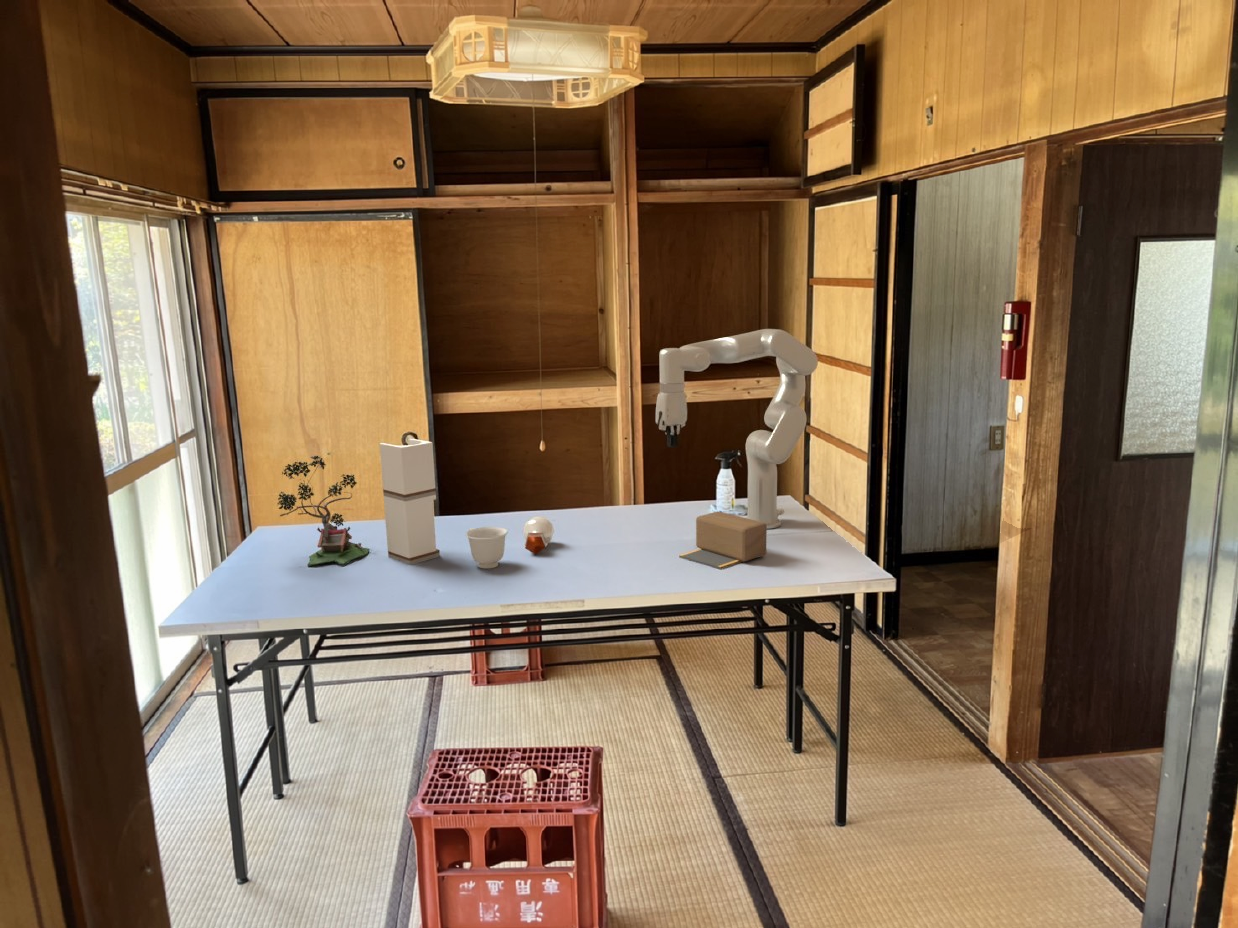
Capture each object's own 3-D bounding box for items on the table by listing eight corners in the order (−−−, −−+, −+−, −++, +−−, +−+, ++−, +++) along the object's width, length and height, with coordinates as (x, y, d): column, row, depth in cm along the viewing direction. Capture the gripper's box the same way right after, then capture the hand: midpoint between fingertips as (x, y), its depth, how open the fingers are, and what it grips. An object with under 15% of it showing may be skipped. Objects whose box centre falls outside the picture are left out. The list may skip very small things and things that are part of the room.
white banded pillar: (439, 556, 261) (432, 442, 254) (409, 564, 254) (401, 447, 247) (418, 549, 269) (410, 438, 262) (388, 557, 261) (379, 443, 254)
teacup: (487, 554, 262) (485, 522, 260) (517, 564, 251) (516, 531, 249) (453, 564, 254) (451, 531, 252) (483, 575, 243) (481, 540, 241)
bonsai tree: (300, 545, 275) (290, 448, 269) (377, 543, 276) (369, 446, 270) (257, 582, 241) (245, 471, 235) (345, 579, 242) (335, 469, 235)
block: (717, 541, 268) (767, 555, 253) (694, 548, 262) (744, 562, 247) (717, 510, 266) (768, 522, 251) (694, 516, 260) (745, 529, 245)
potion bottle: (544, 544, 276) (540, 564, 262) (519, 528, 274) (513, 547, 260) (560, 522, 274) (557, 541, 259) (535, 506, 272) (530, 524, 258)
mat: (719, 544, 267) (719, 542, 267) (760, 555, 255) (760, 553, 255) (679, 557, 255) (679, 555, 255) (720, 569, 244) (720, 567, 243)
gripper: (679, 385, 276) (680, 442, 279) (646, 389, 266) (647, 448, 269) (697, 387, 270) (697, 444, 274) (663, 391, 260) (664, 451, 264)
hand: (672, 446), depth 272 cm, fingers closed
